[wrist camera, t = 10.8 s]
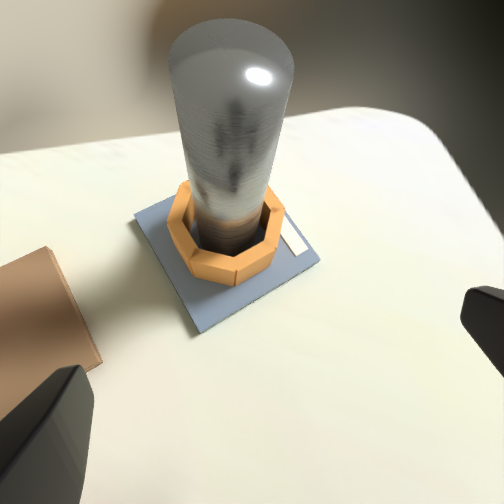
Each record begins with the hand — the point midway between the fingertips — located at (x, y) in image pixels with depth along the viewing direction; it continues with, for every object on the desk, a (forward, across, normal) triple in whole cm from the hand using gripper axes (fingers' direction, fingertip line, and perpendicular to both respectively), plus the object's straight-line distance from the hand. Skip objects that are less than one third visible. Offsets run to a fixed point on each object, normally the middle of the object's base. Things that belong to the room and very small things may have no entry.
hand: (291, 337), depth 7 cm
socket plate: (+15, 0, +4) cm, 15 cm away
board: (+12, +13, +6) cm, 19 cm away
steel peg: (+14, 0, +3) cm, 15 cm away
